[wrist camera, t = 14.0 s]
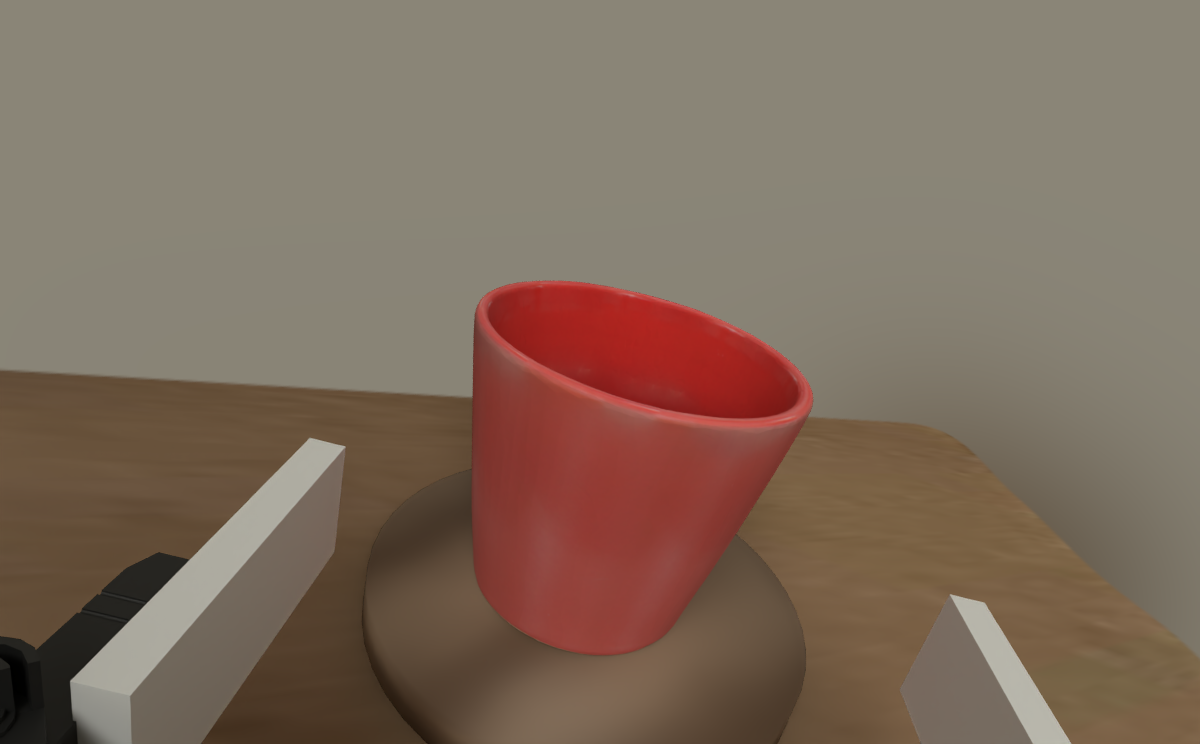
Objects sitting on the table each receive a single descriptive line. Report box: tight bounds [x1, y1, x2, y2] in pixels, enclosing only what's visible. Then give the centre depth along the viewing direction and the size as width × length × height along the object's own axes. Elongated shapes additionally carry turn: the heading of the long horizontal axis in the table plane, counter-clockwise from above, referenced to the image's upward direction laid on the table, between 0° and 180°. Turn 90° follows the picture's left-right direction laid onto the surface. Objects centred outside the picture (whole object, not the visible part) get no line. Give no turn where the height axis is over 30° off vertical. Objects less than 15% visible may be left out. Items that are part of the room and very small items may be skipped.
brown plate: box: [362, 469, 806, 744], centre depth 27 cm, size 16×16×2 cm
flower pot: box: [472, 281, 813, 655], centre depth 25 cm, size 11×11×10 cm
